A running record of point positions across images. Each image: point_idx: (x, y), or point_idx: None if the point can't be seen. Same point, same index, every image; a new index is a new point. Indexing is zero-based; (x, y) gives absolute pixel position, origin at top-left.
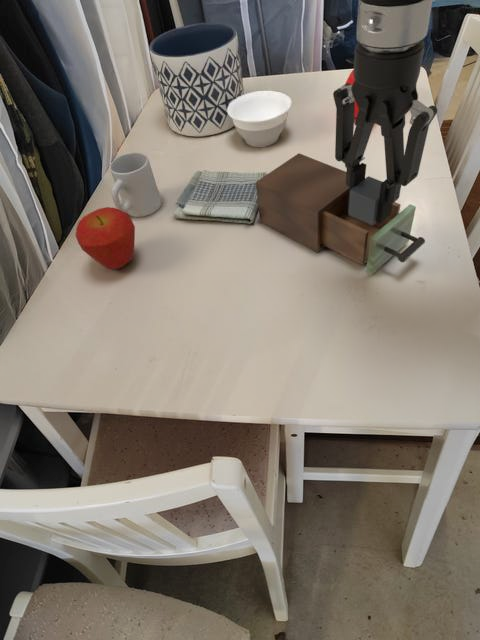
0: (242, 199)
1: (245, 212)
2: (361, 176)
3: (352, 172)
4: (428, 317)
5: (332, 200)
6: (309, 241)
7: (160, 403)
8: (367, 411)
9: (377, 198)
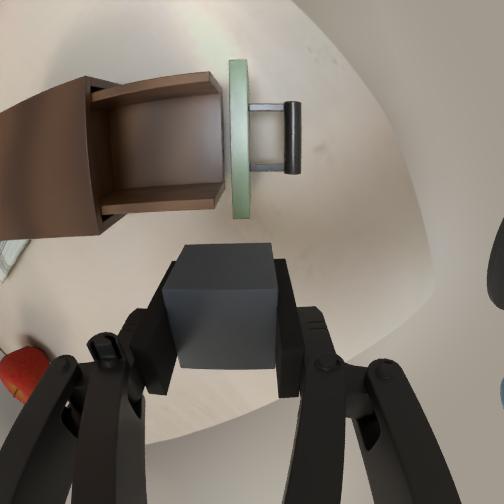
0: None
1: None
2: (164, 339)
3: (156, 392)
4: (363, 208)
5: (90, 185)
6: None
7: (209, 423)
8: (358, 347)
9: (272, 360)
